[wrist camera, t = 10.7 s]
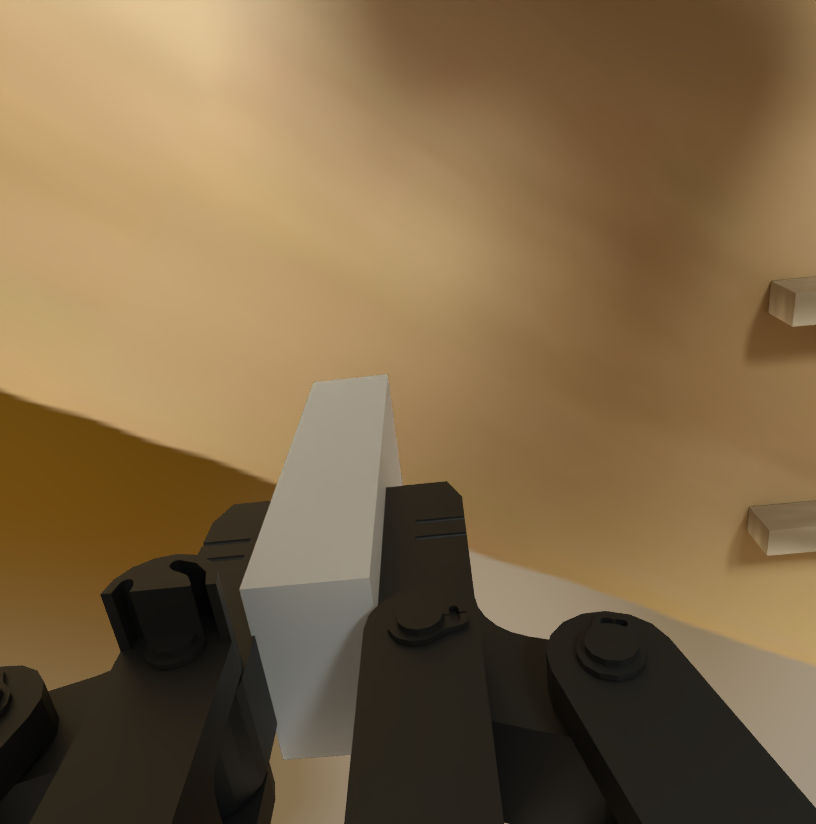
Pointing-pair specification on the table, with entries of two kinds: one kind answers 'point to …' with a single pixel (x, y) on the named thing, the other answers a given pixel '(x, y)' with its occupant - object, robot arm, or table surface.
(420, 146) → the table surface
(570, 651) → the robot arm
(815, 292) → the beam channel
